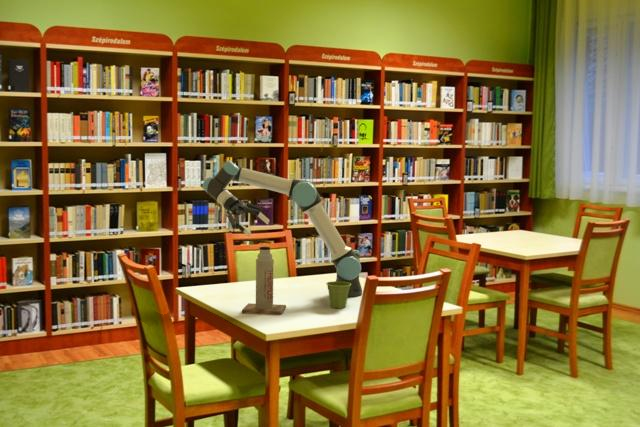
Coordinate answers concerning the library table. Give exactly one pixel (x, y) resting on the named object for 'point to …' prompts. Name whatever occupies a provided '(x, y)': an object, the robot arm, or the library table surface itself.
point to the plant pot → (338, 293)
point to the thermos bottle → (264, 279)
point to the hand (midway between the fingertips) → (259, 228)
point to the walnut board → (274, 311)
